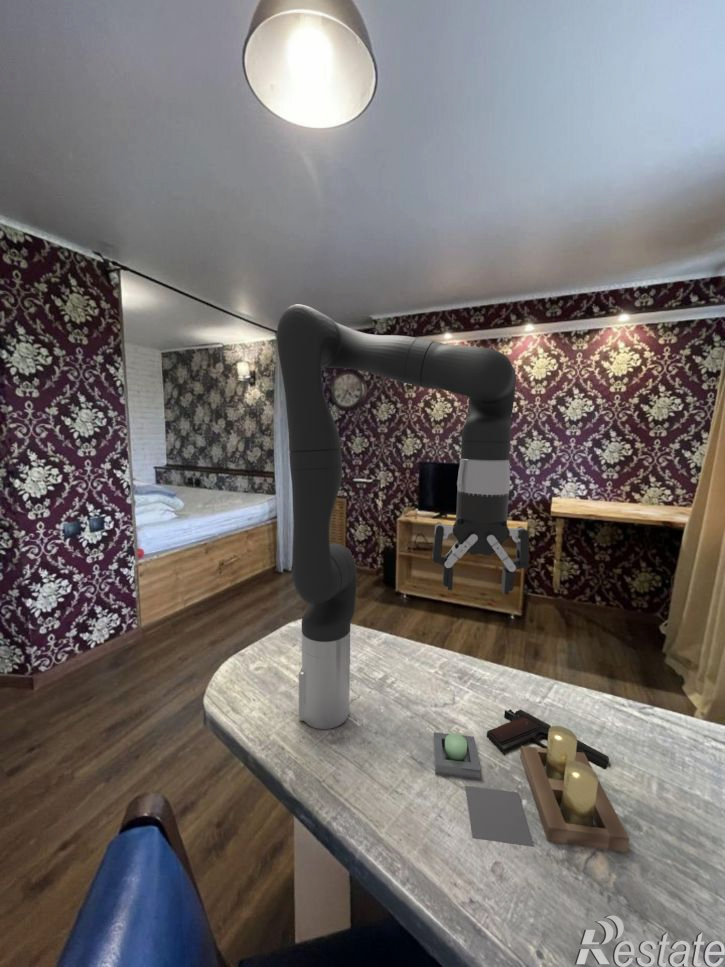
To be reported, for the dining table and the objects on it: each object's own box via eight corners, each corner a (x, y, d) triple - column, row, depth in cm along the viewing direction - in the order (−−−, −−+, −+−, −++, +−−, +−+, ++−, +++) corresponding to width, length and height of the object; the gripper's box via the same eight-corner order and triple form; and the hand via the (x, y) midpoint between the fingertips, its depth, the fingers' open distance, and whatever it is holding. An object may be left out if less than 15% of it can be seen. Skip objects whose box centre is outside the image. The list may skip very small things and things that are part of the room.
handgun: (591, 802, 58) (610, 753, 67) (482, 735, 70) (511, 700, 78) (588, 815, 59) (608, 764, 67) (481, 746, 70) (510, 710, 79)
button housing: (435, 776, 64) (435, 764, 63) (433, 742, 70) (433, 732, 70) (479, 781, 63) (480, 770, 62) (473, 746, 70) (474, 736, 69)
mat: (472, 840, 54) (472, 837, 54) (464, 787, 61) (465, 785, 61) (534, 849, 53) (534, 846, 53) (518, 794, 60) (518, 792, 60)
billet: (566, 835, 54) (572, 783, 53) (555, 808, 58) (561, 759, 57) (596, 839, 54) (603, 787, 53) (583, 812, 58) (590, 762, 57)
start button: (445, 760, 65) (446, 749, 64) (443, 743, 68) (444, 732, 68) (467, 762, 64) (468, 751, 64) (465, 745, 68) (465, 734, 68)
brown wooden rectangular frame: (547, 843, 53) (548, 827, 53) (520, 759, 67) (521, 745, 67) (627, 854, 52) (629, 838, 52) (582, 766, 66) (584, 752, 65)
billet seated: (549, 790, 61) (553, 743, 60) (541, 768, 65) (545, 724, 64) (576, 793, 61) (581, 746, 60) (567, 771, 65) (571, 727, 64)
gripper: (436, 490, 57) (432, 597, 59) (539, 494, 56) (531, 604, 58) (434, 484, 65) (430, 579, 67) (524, 487, 63) (517, 584, 65)
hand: (477, 590), depth 62 cm, fingers open, 8 cm apart
